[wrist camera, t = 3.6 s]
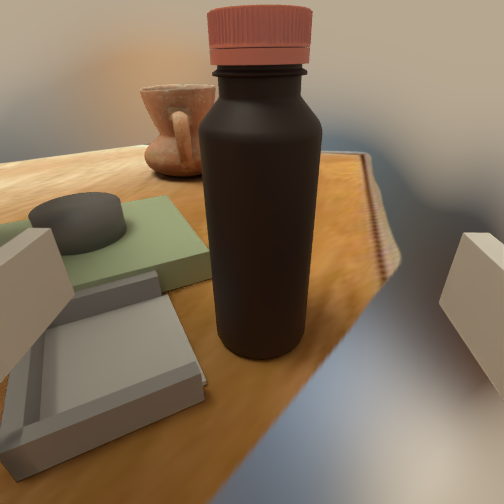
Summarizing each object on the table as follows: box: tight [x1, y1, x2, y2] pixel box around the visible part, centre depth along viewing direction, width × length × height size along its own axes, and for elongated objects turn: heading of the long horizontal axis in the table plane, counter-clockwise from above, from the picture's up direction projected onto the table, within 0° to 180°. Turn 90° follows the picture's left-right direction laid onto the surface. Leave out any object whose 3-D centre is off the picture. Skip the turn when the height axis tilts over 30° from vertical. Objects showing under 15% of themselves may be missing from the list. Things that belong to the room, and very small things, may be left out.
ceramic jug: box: [140, 84, 215, 176], centre depth 57 cm, size 18×14×14 cm
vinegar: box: [198, 5, 322, 359], centre depth 20 cm, size 7×7×20 cm
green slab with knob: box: [0, 192, 212, 482], centre depth 28 cm, size 20×28×6 cm
